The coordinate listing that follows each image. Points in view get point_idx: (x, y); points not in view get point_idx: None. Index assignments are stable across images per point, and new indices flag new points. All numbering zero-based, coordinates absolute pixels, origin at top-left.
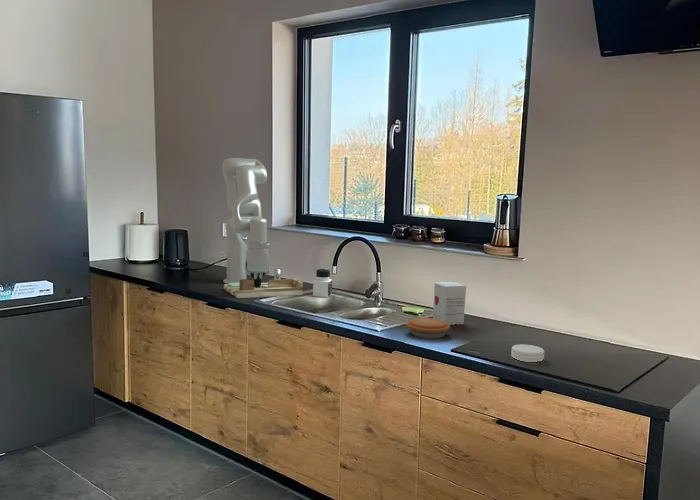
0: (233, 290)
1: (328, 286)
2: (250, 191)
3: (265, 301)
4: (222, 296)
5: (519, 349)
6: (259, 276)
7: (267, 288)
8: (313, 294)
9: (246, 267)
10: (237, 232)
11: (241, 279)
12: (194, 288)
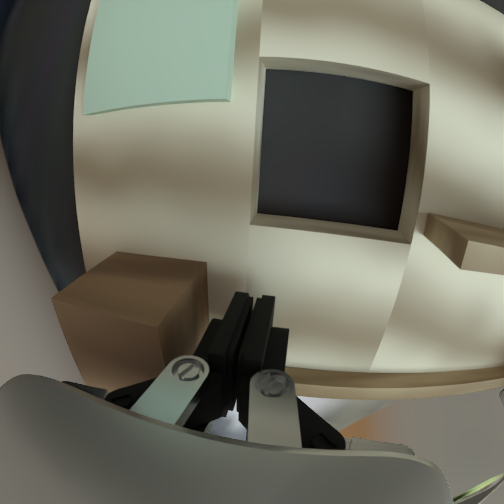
0: (82, 236)
1: None
2: None
3: (241, 427)
4: (55, 244)
5: None
6: (246, 439)
7: (399, 258)
8: (501, 399)
9: (2, 399)
10: None
11: (66, 318)
12: (18, 16)
